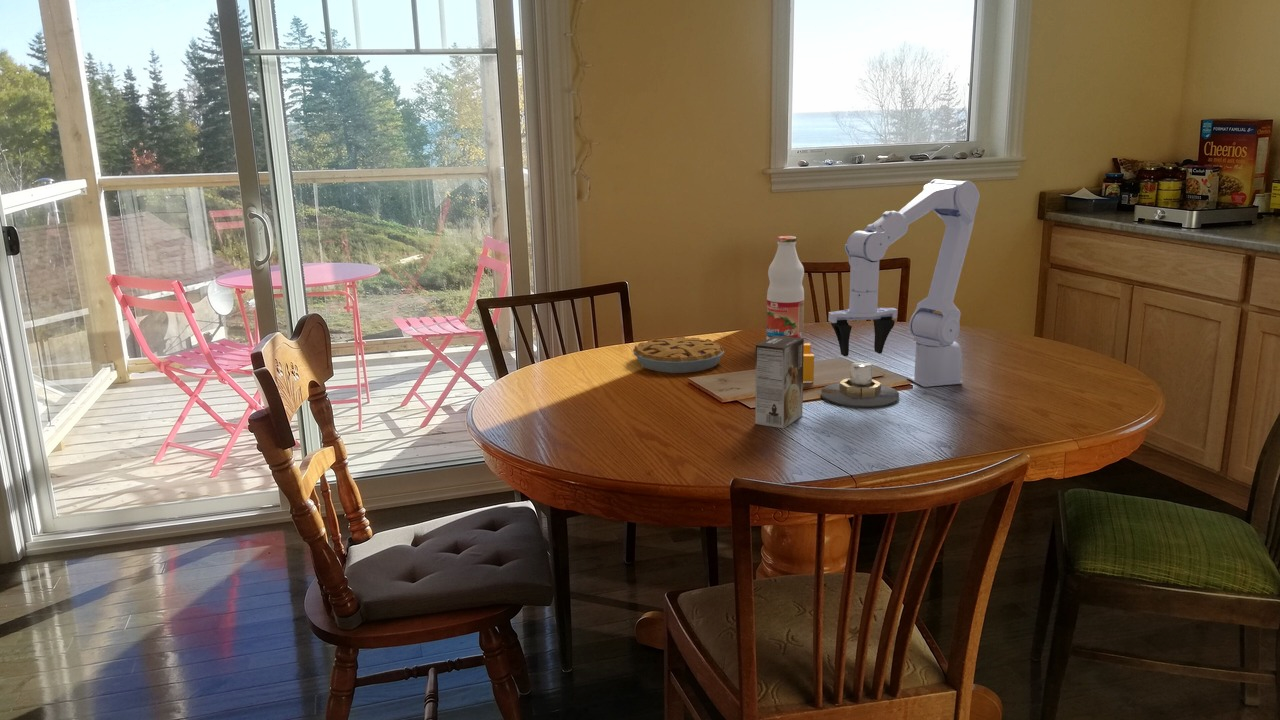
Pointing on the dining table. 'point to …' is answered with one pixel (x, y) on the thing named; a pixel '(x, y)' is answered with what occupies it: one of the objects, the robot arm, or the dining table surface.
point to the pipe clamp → (808, 363)
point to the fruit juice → (785, 291)
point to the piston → (861, 374)
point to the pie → (678, 354)
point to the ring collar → (860, 395)
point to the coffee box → (779, 381)
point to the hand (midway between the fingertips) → (861, 353)
